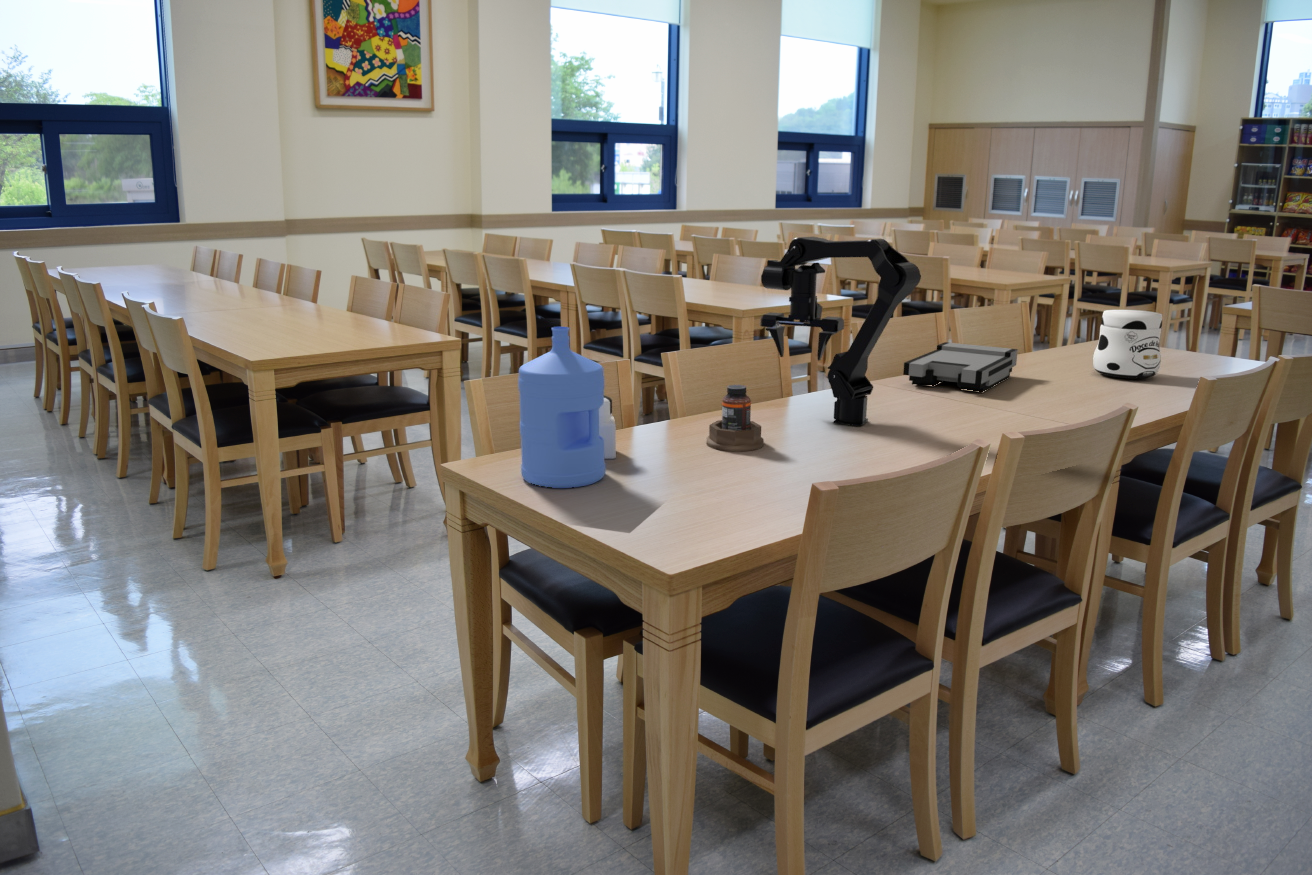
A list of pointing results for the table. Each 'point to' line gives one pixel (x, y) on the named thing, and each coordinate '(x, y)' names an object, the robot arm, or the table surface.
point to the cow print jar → (1129, 344)
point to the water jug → (561, 417)
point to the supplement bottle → (736, 409)
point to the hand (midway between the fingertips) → (800, 358)
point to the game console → (962, 366)
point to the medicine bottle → (607, 428)
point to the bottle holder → (734, 438)
